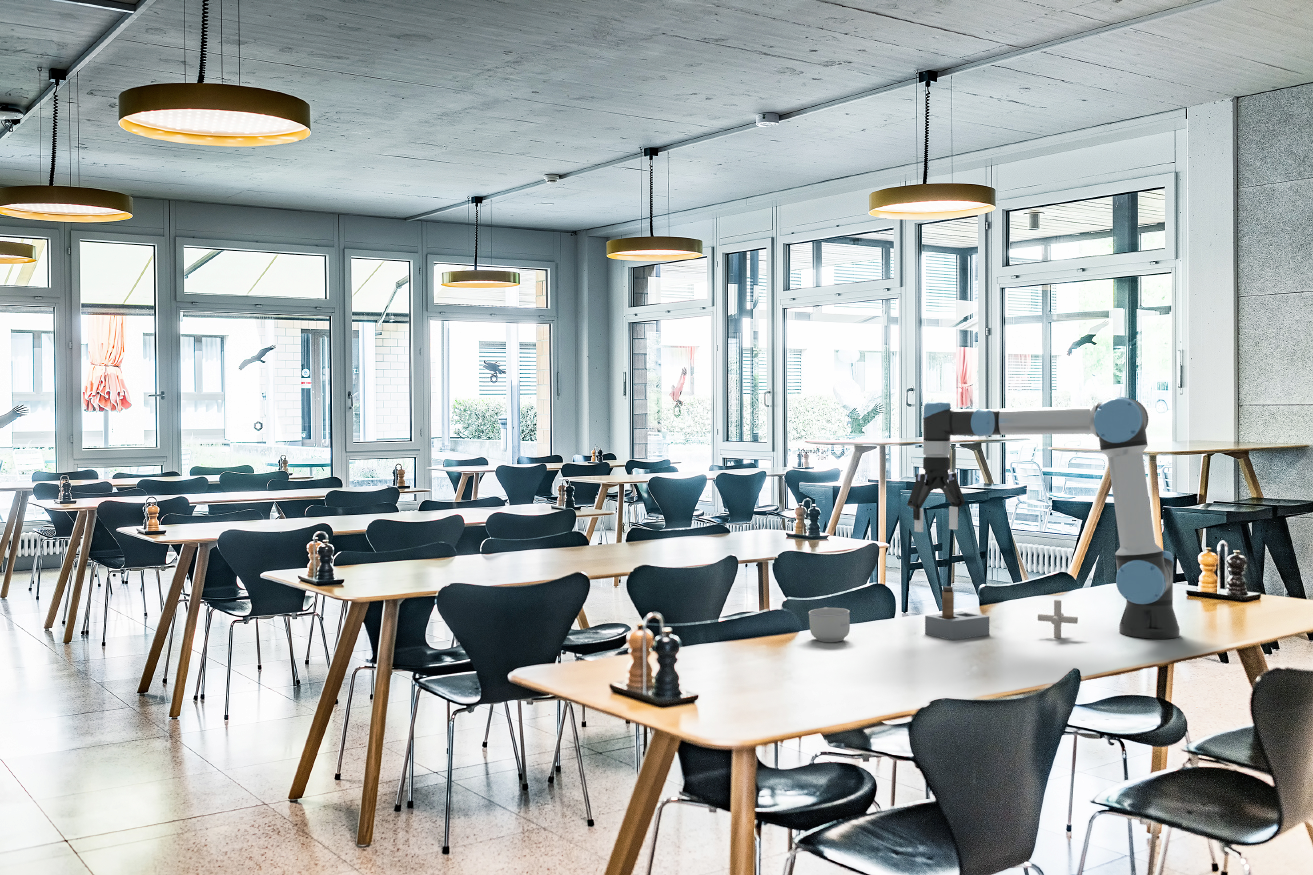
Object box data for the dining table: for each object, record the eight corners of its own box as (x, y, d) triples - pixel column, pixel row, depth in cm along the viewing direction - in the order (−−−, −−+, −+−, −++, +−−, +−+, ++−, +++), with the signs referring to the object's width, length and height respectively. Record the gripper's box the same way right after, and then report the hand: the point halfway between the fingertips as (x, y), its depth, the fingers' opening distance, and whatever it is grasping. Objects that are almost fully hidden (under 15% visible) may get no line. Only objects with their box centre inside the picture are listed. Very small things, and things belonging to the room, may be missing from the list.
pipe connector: (1034, 638, 312) (1035, 601, 312) (1041, 632, 321) (1041, 596, 321) (1074, 642, 307) (1074, 604, 307) (1079, 635, 316) (1080, 598, 316)
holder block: (989, 634, 317) (989, 616, 317) (952, 639, 310) (952, 621, 310) (961, 629, 326) (961, 611, 326) (925, 633, 319) (925, 615, 319)
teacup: (848, 645, 303) (849, 614, 303) (806, 643, 306) (807, 612, 306) (850, 635, 317) (851, 605, 317) (810, 633, 319) (810, 604, 319)
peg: (955, 635, 316) (956, 587, 315) (947, 637, 314) (948, 588, 314) (947, 634, 318) (947, 585, 318) (939, 635, 317) (939, 586, 316)
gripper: (958, 455, 343) (957, 527, 344) (894, 456, 330) (894, 531, 331) (977, 455, 337) (977, 529, 337) (913, 457, 324) (913, 533, 324)
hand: (936, 530), depth 334 cm, fingers open, 13 cm apart
